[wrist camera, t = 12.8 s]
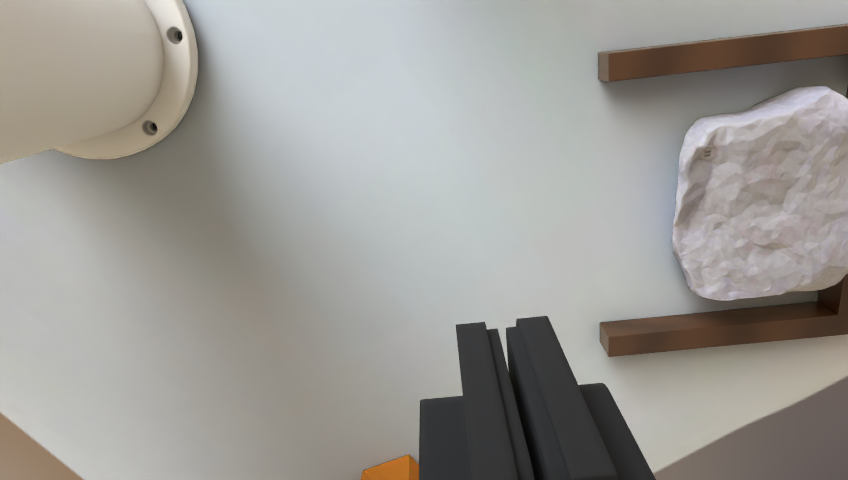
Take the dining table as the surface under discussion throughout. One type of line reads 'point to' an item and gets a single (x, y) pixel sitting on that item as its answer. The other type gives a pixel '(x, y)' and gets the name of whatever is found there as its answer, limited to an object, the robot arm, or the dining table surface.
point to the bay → (830, 316)
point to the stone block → (765, 198)
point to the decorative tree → (394, 470)
